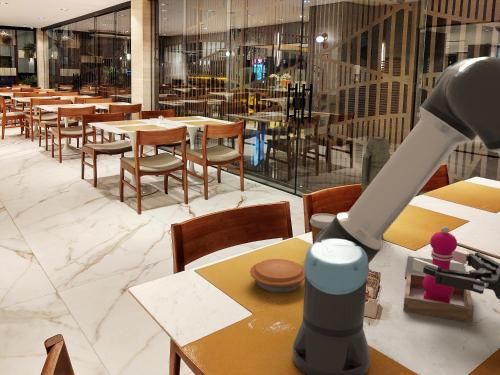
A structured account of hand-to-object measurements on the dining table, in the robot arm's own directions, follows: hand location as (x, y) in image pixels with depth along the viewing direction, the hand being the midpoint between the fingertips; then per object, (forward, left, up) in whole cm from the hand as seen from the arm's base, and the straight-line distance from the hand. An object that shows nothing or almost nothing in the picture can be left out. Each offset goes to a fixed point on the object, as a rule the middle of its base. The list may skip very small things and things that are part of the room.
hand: (427, 256), depth 112 cm
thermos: (+39, +18, -11) cm, 45 cm away
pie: (-7, +37, -11) cm, 39 cm away
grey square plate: (+17, -3, -11) cm, 21 cm away
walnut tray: (-2, -3, -11) cm, 12 cm away
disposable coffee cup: (+18, +30, -11) cm, 37 cm away
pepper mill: (-2, -3, -11) cm, 12 cm away
